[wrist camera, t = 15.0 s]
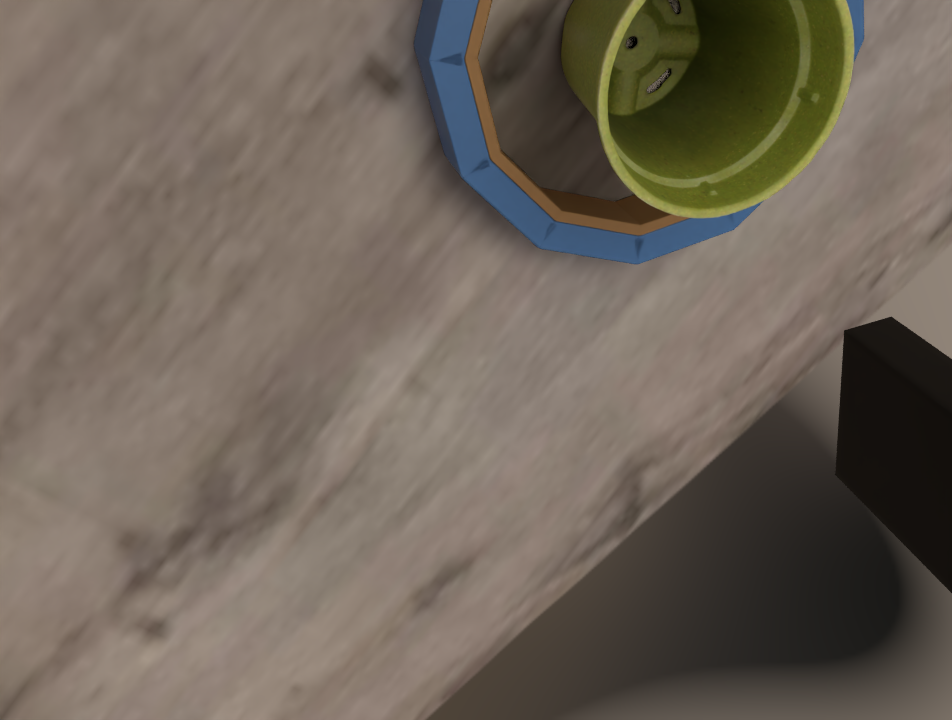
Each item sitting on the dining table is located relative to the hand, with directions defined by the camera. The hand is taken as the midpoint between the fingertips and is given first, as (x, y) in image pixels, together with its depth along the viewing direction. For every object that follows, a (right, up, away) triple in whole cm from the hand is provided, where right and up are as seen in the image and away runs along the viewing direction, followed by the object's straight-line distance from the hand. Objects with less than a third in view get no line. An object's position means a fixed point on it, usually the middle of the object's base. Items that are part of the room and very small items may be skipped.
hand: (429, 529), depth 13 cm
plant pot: (+7, +16, +25) cm, 30 cm away
